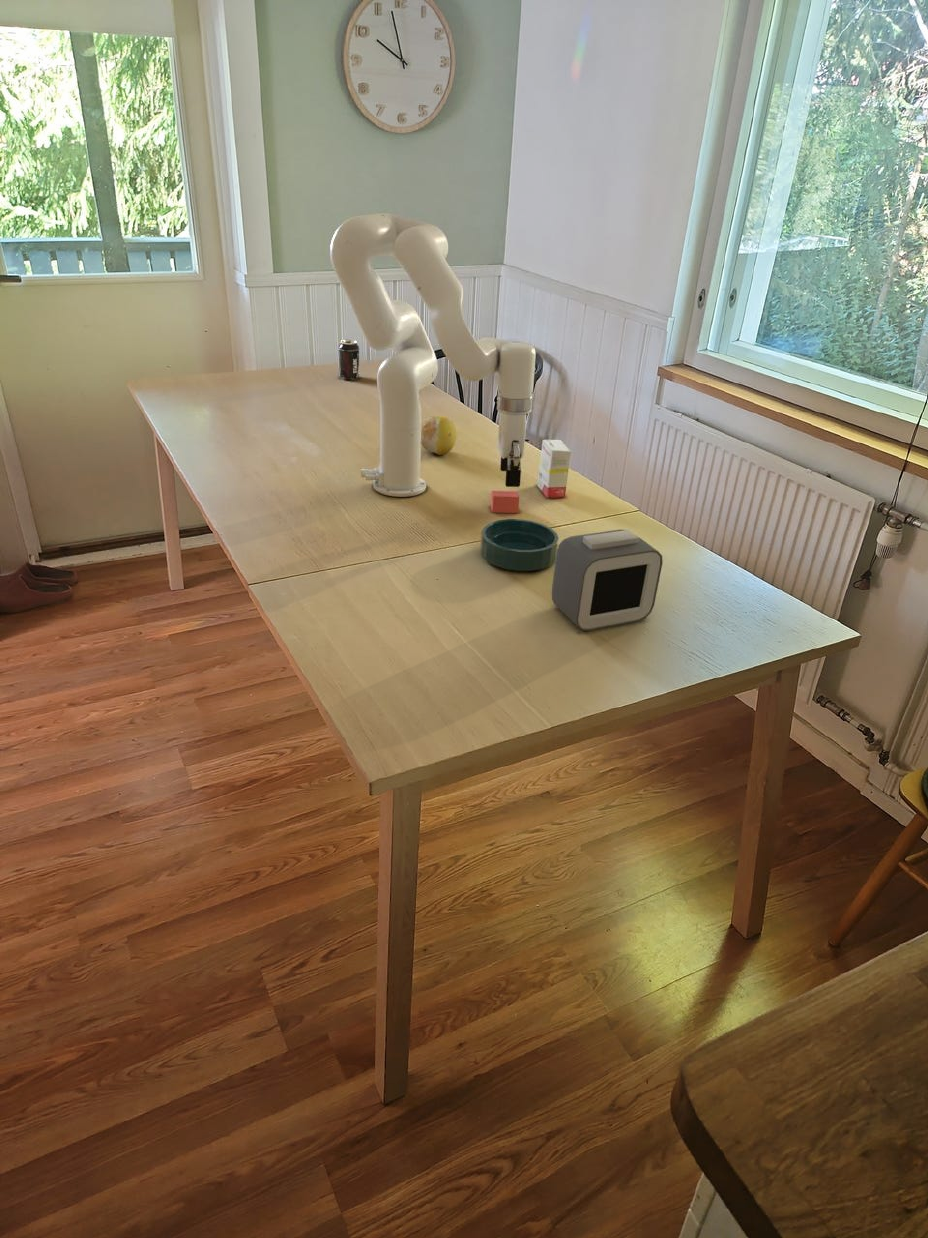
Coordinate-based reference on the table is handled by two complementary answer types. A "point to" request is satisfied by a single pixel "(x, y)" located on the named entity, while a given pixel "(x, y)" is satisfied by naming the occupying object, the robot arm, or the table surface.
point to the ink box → (553, 468)
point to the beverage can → (348, 359)
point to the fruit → (438, 434)
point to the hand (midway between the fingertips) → (509, 478)
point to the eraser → (505, 502)
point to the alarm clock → (605, 579)
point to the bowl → (519, 544)
